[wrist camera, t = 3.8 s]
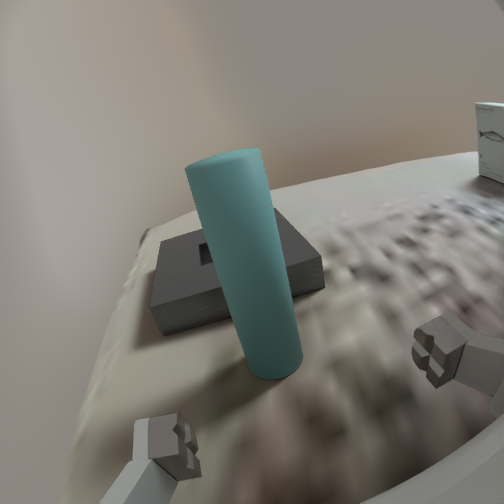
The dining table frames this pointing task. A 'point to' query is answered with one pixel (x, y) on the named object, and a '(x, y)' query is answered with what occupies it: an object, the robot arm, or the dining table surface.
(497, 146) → the supplement box
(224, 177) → the peg
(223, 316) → the socket block
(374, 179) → the dining table surface
